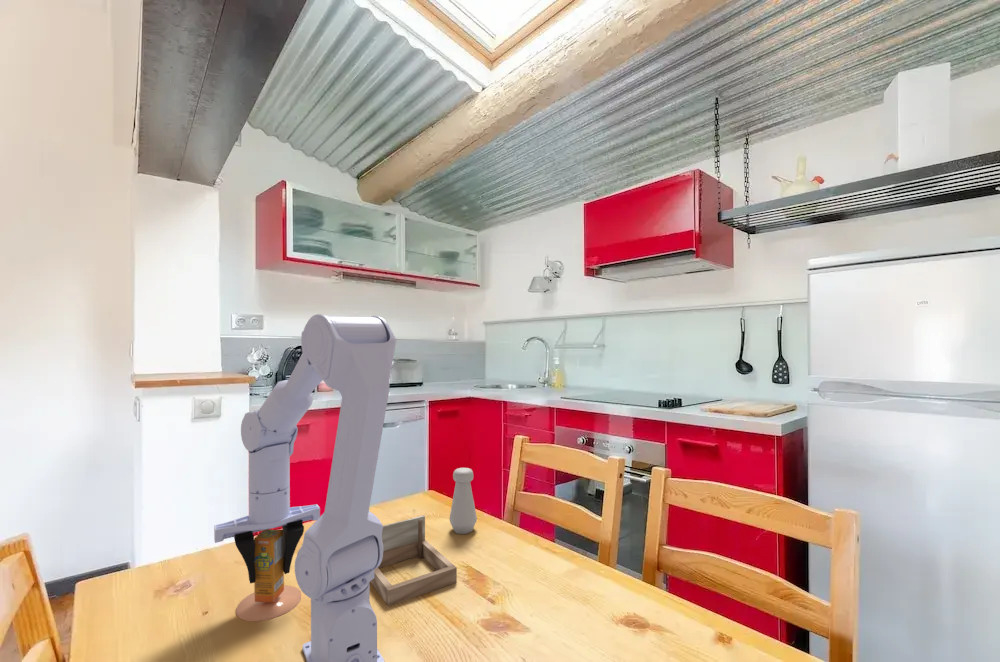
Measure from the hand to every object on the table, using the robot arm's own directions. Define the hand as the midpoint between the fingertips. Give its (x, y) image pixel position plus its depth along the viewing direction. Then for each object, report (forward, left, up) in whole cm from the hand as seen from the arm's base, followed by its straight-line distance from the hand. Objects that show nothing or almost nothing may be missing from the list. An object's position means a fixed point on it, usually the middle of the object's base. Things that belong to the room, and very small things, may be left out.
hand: (269, 575), depth 70 cm
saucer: (0, 0, -5) cm, 5 cm away
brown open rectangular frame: (-5, -21, -5) cm, 22 cm away
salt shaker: (+6, -38, -5) cm, 39 cm away
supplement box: (0, 0, -4) cm, 4 cm away
